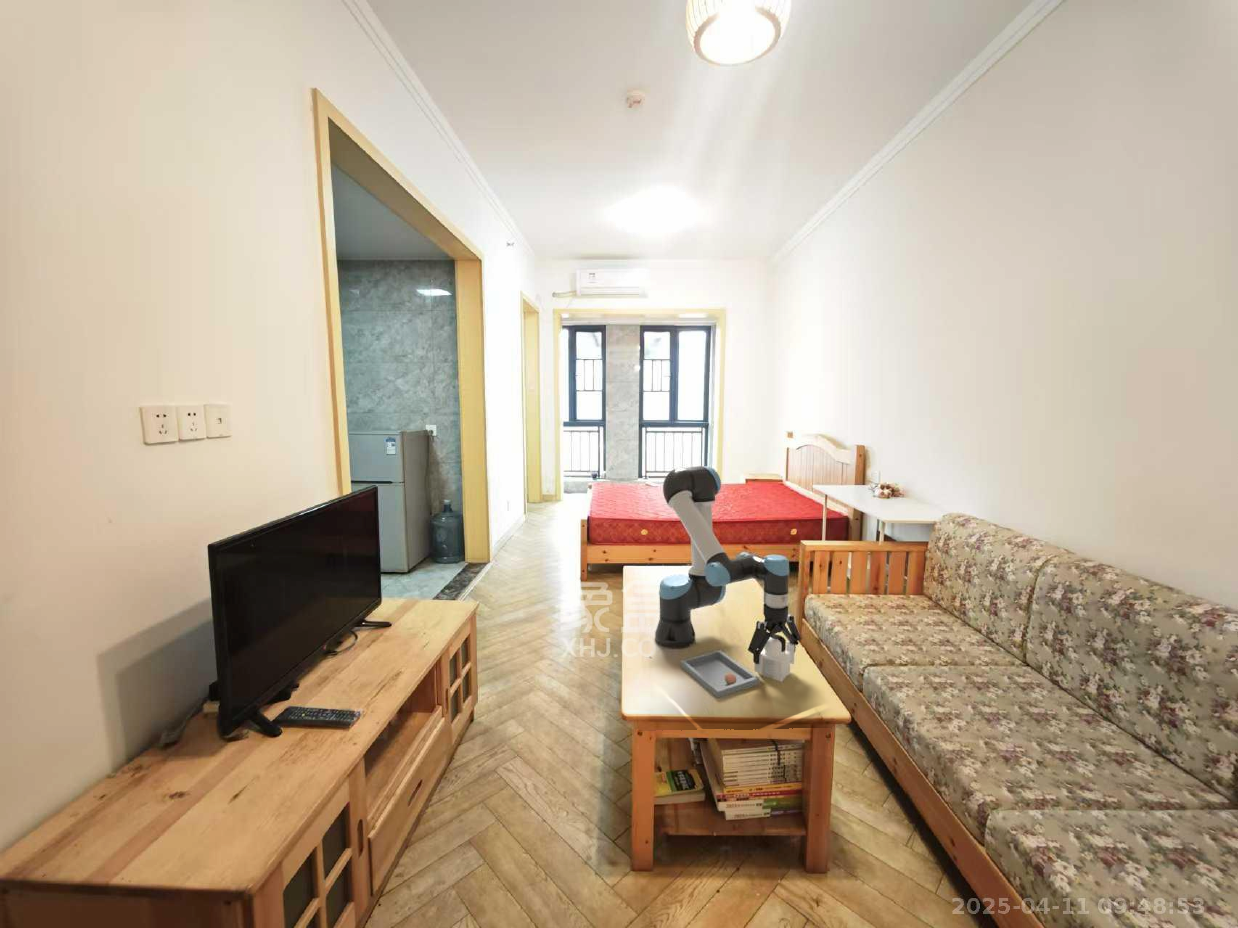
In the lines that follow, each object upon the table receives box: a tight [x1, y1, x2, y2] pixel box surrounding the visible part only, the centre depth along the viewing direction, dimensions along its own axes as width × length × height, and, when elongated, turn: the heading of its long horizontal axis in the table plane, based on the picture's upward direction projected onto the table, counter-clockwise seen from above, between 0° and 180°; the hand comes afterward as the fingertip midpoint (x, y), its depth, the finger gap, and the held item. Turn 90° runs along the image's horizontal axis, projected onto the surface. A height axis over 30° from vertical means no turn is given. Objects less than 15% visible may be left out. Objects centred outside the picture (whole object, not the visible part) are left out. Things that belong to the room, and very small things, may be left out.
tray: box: [680, 649, 760, 699], centre depth 153 cm, size 20×16×3 cm
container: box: [761, 633, 791, 682], centre depth 154 cm, size 8×8×13 cm
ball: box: [725, 673, 736, 685], centre depth 148 cm, size 4×4×4 cm
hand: (774, 667), depth 154 cm, fingers open, 13 cm apart
